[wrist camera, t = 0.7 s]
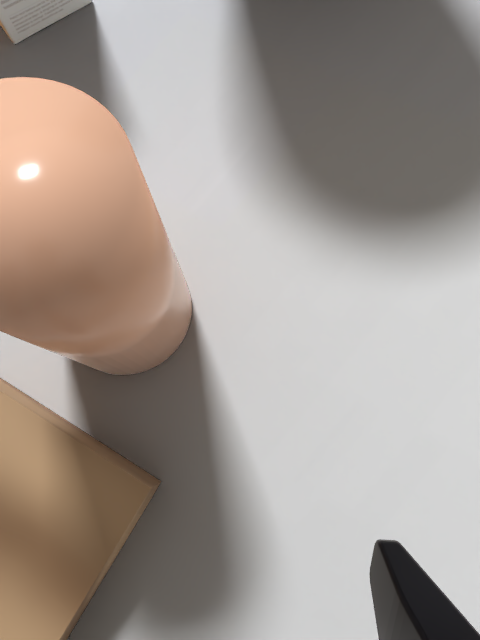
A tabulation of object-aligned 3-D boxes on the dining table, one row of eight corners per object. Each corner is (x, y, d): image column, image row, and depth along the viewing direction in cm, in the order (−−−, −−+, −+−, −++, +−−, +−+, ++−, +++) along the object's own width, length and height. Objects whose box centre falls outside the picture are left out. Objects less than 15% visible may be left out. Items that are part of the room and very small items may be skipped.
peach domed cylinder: (145, 400, 22) (33, 368, 11) (35, 332, 23) (-182, 232, 11) (216, 287, 23) (187, 147, 12) (109, 226, 24) (-17, 39, 13)
